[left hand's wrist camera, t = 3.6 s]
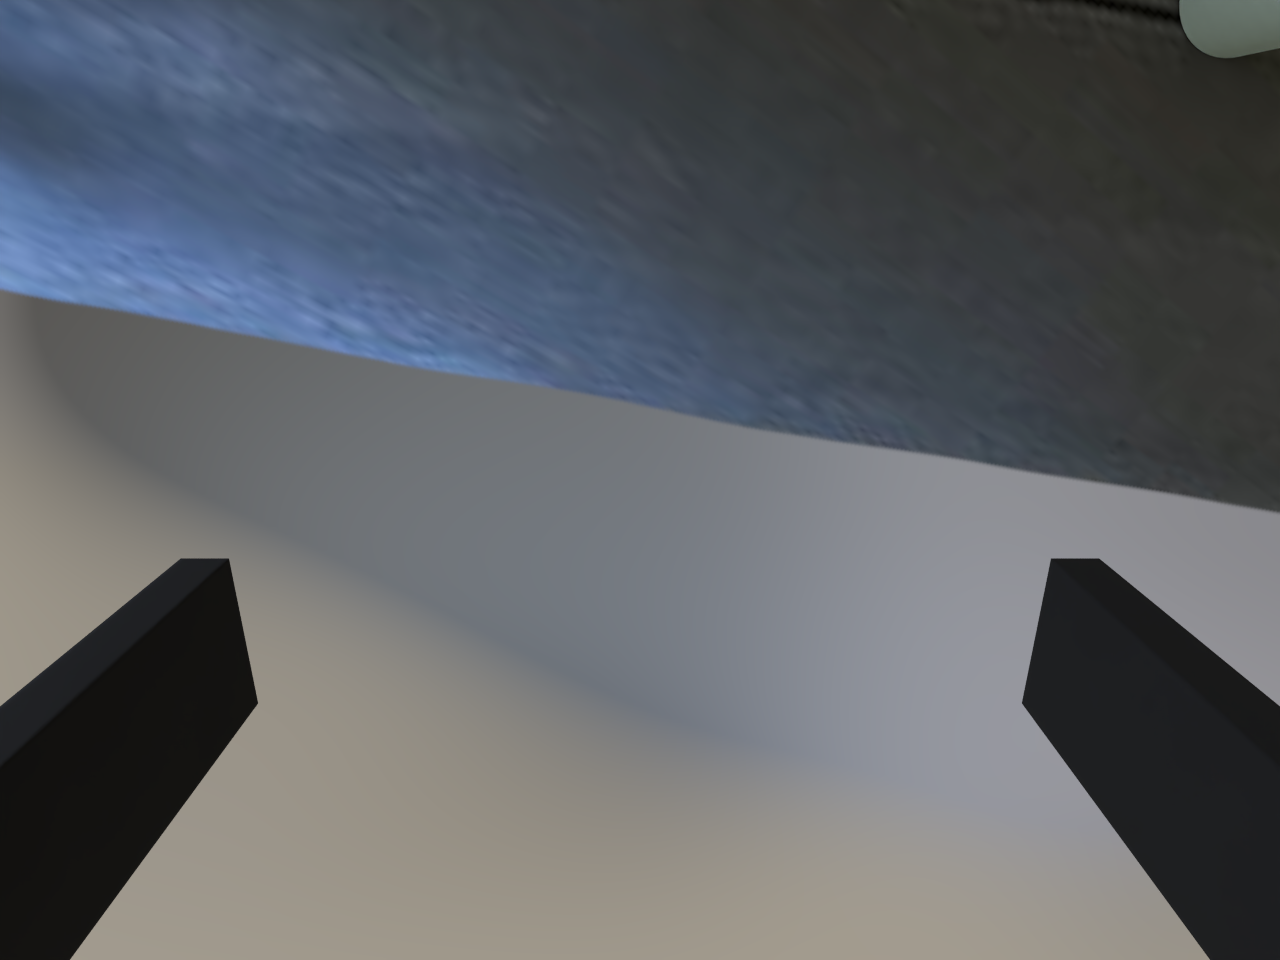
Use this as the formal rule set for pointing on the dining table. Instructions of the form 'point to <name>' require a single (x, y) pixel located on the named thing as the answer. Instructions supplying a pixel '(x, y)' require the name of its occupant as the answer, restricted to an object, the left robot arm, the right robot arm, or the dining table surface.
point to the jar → (1231, 26)
